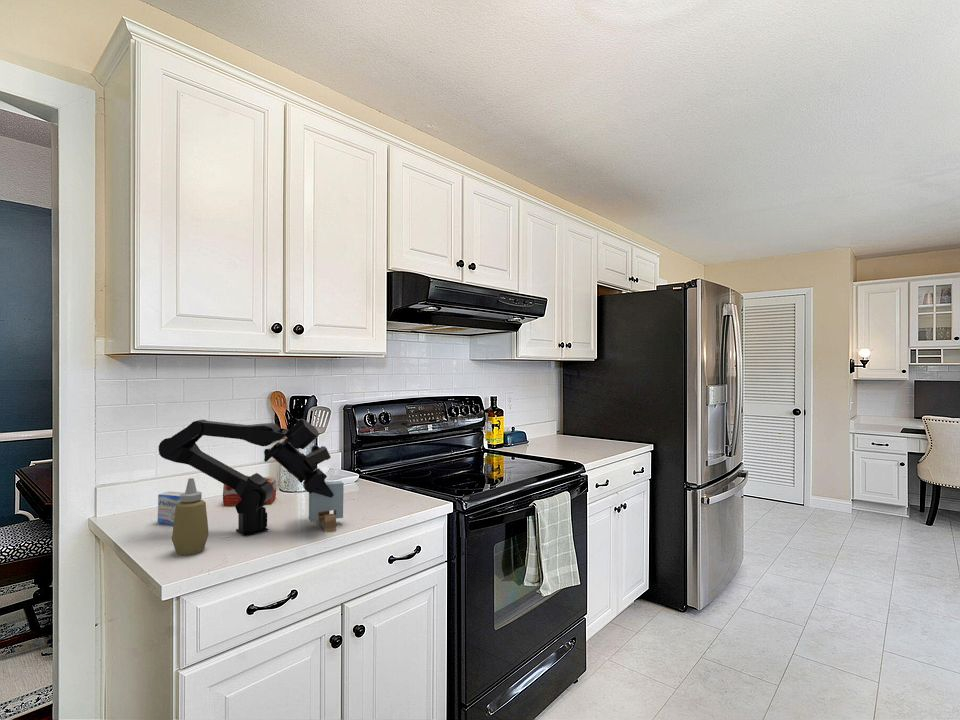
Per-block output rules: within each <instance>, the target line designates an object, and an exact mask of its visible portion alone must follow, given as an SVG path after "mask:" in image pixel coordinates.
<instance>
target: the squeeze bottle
mask: <svg viewBox="0 0 960 720" xmlns="http://www.w3.org/2000/svg"><path fill="white" fill-rule="evenodd" d="M185 487H186V488H185V492H181V493H182V494H181V495H180V501H181V502H180V503H178V504H177V505H176V508H175V517H174V525H172V526H173V527H172V535H171V542H172V545H173V548H174V549H175V552H176V554H177V555H178V556H179V555H180V556H188V555H189V556H190V555H194V554H199V553H200V552H202V551H204V549H205V546H206V543H207V542H208V539H209V535H210V532H209V524H208V523H209V522H208V514H207V513H208V512H207V503H206V501H204V500H202V496H203V495H202V491H198V490H197V486H196V482H195V479H194V478H193V477H191V478H188V479H187V483H186V486H185Z"/></svg>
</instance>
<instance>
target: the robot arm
mask: <svg viewBox="0 0 960 720" xmlns="http://www.w3.org/2000/svg"><path fill="white" fill-rule="evenodd" d="M203 436H206V437H217V438H224V439H225V438H226V439H236V440H242V441H245V442H247V443H250V444H252V445H256V446H260V447H267V446H270V445H272V444H274V445H273V446H271V447H270V448H265V449H264V451H263V453H264V457H263V458H264V460H263V461H264V462H268V461H269V460H270V459H272V458H273V459H274V460H275V461H276V462H277V463H278V464H279V465H281V466H282V467H283V468H284V469H285V470H286V471H287V473H289V474H291V475H292V476H293V477H294V478H295V479H296V480H298V482H299V483H301V484H303V485H302V488H303V489H304V490H305V491H306V492H308V494H309V493H310V494H311V493H312V492H313V493H317V494H320V495H324V496H327V497H330V498H332V497H333V496H334V494H333V493H332V491H331V490H330V489H329V487H328V486H327V484H326V483H325V482H326V481H325V480H326V479H327V476H328V475H326V474H325V472H323V471H322V470H321V469H320V468H318V466H317V465H319V464H320V463H323V462H324V461H329V460H330V459H331V455H330V452H329V451H328V448H327V447H326V446H323V445H322V446H318V445H316V444H314V445H312V446H311V448H310V451H309V452H308V453H307V454H304V452H300V451H299V449H300V450H304V449H305V448H306V447H308V446H309V445H310V444H311V443H313V441H315V439H317V438H318V437H319V436H320V433H319V431H318V429H317V428H316V427H315V426H314V425H312V424H311V423H310V422H308V421H306V420H305V419H304V418H300V419H299V420H297V422H296V423H295V424H294V425H293V426H292V427H290V429H288V428H282V427H280V426H279V425H278V424H276V423H274V422H266V423H257V424H256V423H253V424H240V423H231V422H224V421H223V422H221V421H212V420H211V421H210V420H207V419H198V420H194V421H192V422H191V423H190V424H188V425H187V426H186V427H185V428H183V429H182V430H180V431H178V432H177V433H175V434H174V435H172V436H171V437H168V438H167V437H166V438H164V439H163V440H161V441H160V443H159V445H158V455H160V457H161V458H163V459H164V460H168V461H170V462H173V463H178V464H183V465H188V466H190V467H192V468H194V469H195V470H197V471H199V472H201V473H203V474H205V475H207V476H208V477H210V478H212V479H214V480H216V481H218V482H219V483H221V484H222V485H224V484H225V485H227V486H228V487H230V488H232V489H234V490H235V491H236V493H237V494H238V496H239V497H240V498H241V499H242V500H241V501H240V502H239V503H238V504H237V505H236V506H234V508H235V510H236V513H237V514H238V515H237V517H238V519H237V520H238V521H237V522H238V528H237V529H235V532H236V533H238V534H240V535H241V536H243V537H249V536H253V535H257V534H261V533H265V532H269V528H268V512H267V509H266V508H267V507H265V506H267V505H266V504H267V501H268V500H269V499H270V498H271V497H272V496H273V493H274V488H273V485H272V484H271V483H270V482H268V481H269V479H266V478H263V477H264V476H262V475H260V474H259V473H258V472H256V473H253V474H252V475H246V474H244V473H242V472H240V471H238V470H236V469H234V468H232V467H230V466H229V465H227V464H225V463H224V462H222V461H220V460H218V459H217V458H214V457H213V456H211V455H209V454H207V453H206V452H203V450H201V449H200V447H199V446H198V444H197V442H198V441H200V439H201V438H202V437H203ZM283 439H284V440H283ZM281 440H283V441H281ZM278 441H279V442H278ZM280 441H281V442H280Z"/></svg>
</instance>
